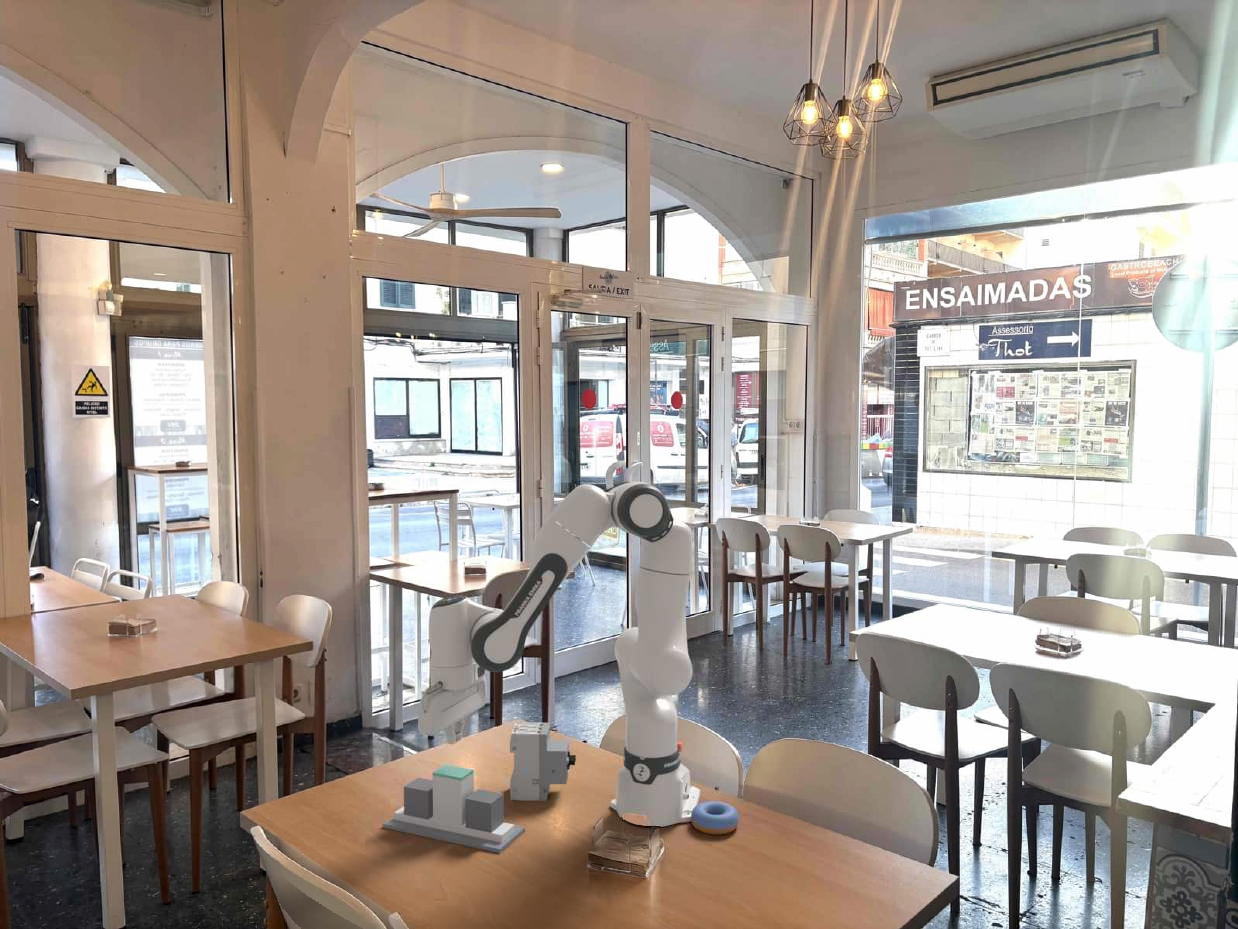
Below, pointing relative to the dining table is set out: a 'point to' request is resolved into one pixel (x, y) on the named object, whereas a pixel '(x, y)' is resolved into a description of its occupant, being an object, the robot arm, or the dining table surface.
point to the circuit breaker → (537, 761)
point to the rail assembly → (478, 831)
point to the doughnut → (714, 817)
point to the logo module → (451, 793)
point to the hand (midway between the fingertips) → (454, 741)
